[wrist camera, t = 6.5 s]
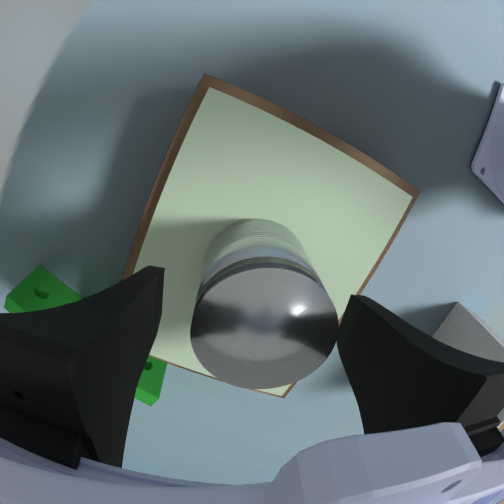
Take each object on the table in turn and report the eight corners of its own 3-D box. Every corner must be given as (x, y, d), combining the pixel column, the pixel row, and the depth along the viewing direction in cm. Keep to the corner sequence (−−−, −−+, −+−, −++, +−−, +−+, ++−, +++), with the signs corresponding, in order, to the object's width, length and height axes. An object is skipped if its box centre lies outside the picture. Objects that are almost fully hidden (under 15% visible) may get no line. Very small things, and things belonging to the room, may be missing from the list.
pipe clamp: (29, 298, 19) (-2, 331, 15) (42, 263, 18) (6, 294, 14) (147, 379, 22) (134, 423, 18) (170, 353, 21) (158, 399, 17)
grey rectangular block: (408, 364, 23) (460, 452, 14) (457, 301, 21) (531, 378, 12) (431, 372, 24) (480, 451, 14) (477, 314, 22) (543, 385, 12)
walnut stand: (384, 177, 17) (424, 193, 13) (276, 356, 21) (284, 402, 17) (211, 86, 15) (203, 71, 11) (126, 301, 19) (104, 342, 15)
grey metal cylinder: (316, 228, 13) (358, 282, 9) (292, 316, 15) (314, 391, 10) (211, 210, 13) (197, 259, 8) (198, 304, 14) (186, 381, 10)
